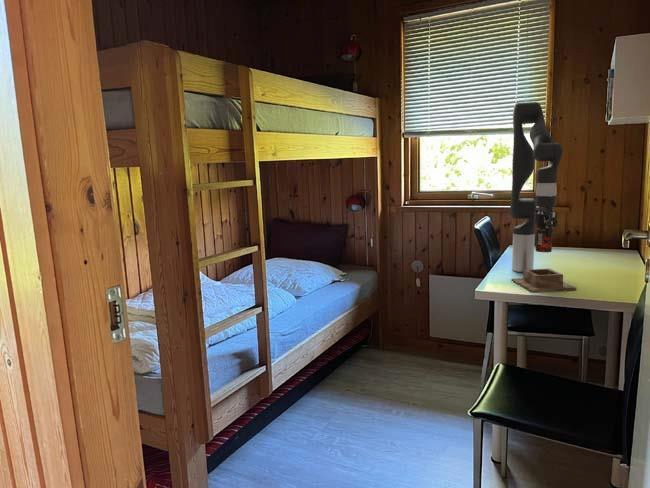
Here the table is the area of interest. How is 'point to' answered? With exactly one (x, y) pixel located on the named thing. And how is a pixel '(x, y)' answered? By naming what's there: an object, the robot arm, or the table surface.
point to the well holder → (543, 281)
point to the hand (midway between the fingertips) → (544, 236)
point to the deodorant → (542, 235)
